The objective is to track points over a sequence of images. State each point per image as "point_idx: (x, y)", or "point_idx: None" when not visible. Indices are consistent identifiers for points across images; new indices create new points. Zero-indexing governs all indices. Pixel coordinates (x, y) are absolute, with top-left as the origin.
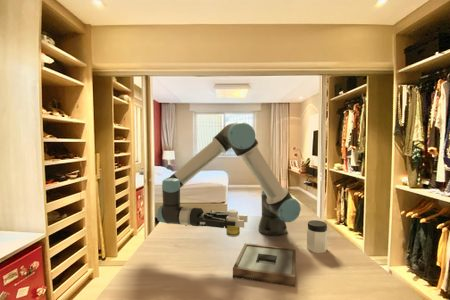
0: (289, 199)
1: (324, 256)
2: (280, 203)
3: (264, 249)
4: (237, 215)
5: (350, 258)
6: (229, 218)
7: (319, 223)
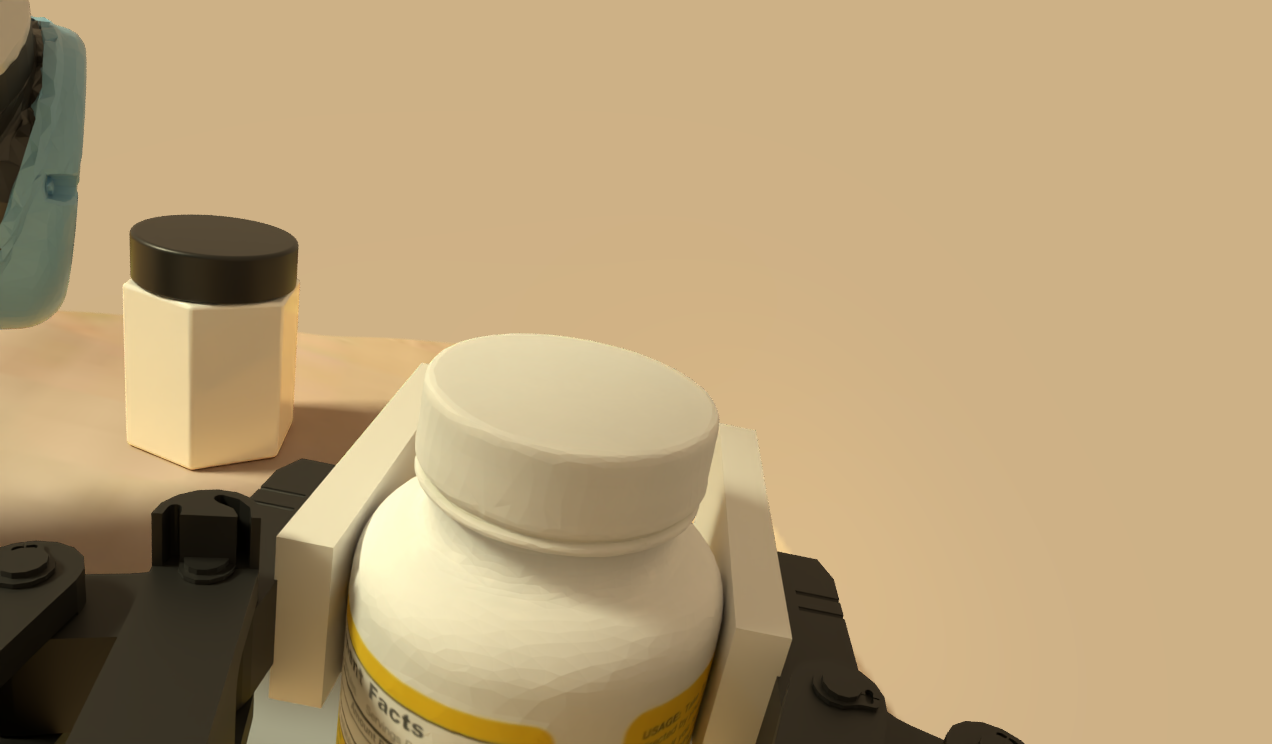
0: (58, 29)
1: (339, 436)
2: (17, 94)
3: (264, 709)
4: (390, 471)
5: (379, 373)
6: (707, 600)
7: (227, 231)
